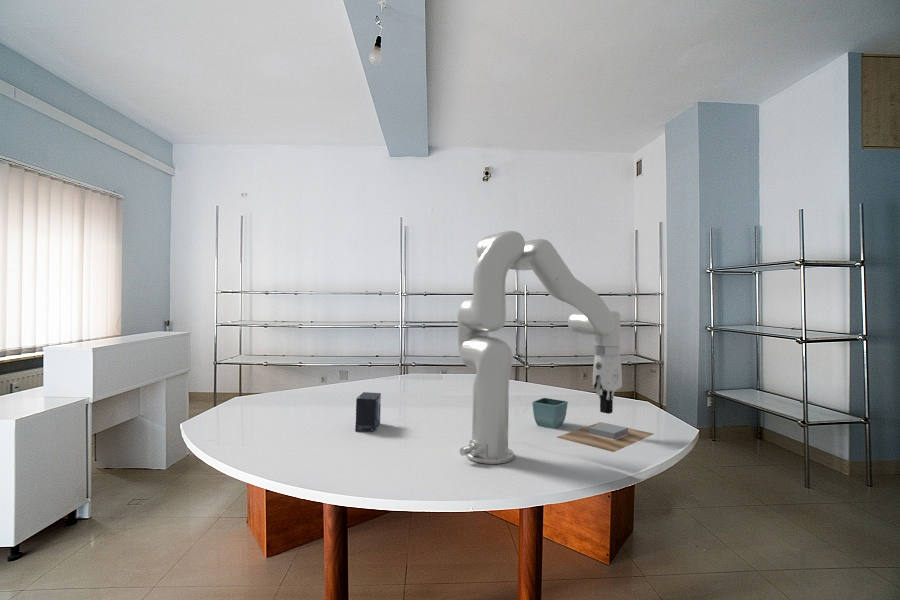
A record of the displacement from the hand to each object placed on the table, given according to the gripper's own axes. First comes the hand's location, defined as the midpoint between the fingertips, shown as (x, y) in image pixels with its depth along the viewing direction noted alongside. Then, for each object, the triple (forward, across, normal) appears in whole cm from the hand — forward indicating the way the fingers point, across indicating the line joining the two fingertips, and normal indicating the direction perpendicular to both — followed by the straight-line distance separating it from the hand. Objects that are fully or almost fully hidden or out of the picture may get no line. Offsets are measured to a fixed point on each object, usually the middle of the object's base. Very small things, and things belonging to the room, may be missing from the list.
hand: (606, 412), depth 141 cm
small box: (+8, -46, +58) cm, 75 cm away
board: (+8, 0, 0) cm, 8 cm away
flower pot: (+8, -3, +18) cm, 20 cm away
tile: (+6, -3, 0) cm, 7 cm away
